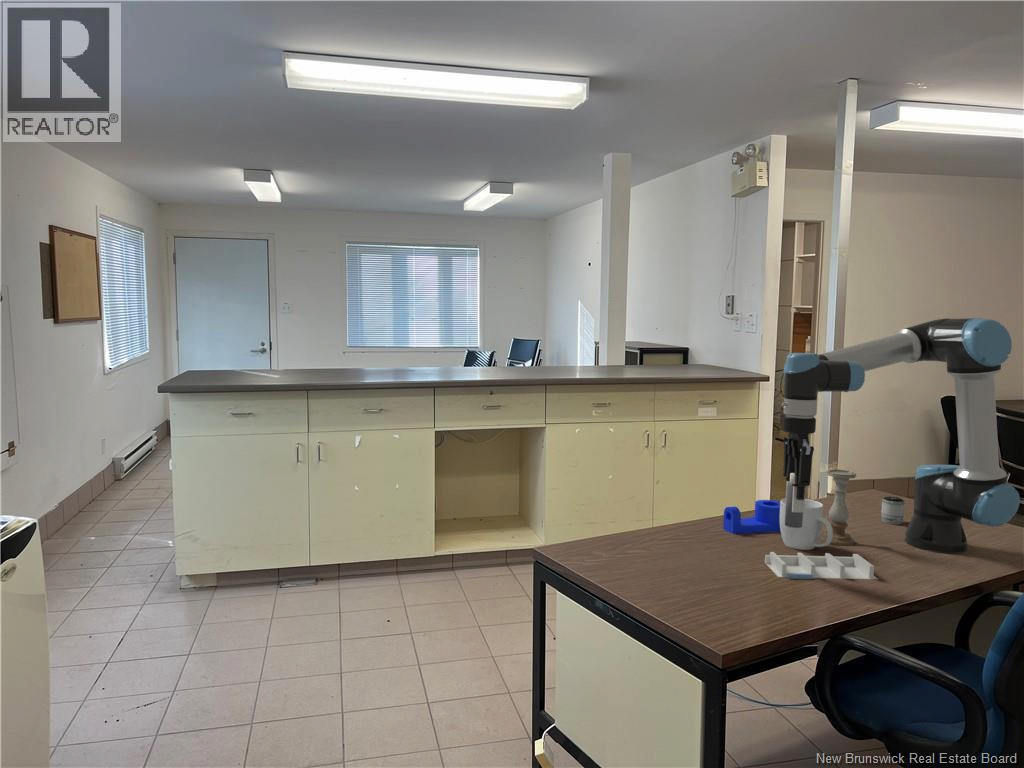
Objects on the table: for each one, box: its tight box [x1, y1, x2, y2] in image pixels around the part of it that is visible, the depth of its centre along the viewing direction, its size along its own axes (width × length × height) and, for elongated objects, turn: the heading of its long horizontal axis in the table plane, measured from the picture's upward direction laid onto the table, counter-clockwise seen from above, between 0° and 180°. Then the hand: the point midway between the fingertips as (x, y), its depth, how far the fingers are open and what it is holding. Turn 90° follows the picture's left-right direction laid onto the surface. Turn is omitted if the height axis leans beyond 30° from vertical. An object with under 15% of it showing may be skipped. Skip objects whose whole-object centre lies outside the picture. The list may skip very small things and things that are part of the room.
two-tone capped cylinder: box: [785, 473, 803, 528], centre depth 172 cm, size 4×4×13 cm
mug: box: [779, 497, 833, 551], centre depth 191 cm, size 15×11×13 cm
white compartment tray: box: [764, 551, 879, 580], centre depth 172 cm, size 24×11×4 cm, turn 88°
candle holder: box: [820, 469, 857, 547], centre depth 198 cm, size 9×9×20 cm
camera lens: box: [880, 496, 906, 526], centre depth 219 cm, size 6×6×8 cm
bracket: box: [722, 499, 781, 535], centre depth 211 cm, size 20×9×8 cm, turn 108°
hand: (794, 509), depth 172 cm, fingers closed on two-tone capped cylinder, 4 cm apart
